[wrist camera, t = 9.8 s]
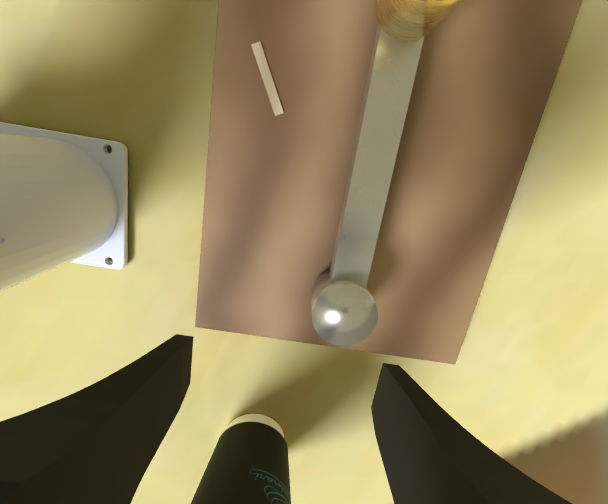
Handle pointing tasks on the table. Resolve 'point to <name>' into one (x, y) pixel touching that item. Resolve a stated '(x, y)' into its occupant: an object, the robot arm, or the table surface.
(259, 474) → the dixie cup
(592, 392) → the table surface
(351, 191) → the lever
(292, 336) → the bench base
